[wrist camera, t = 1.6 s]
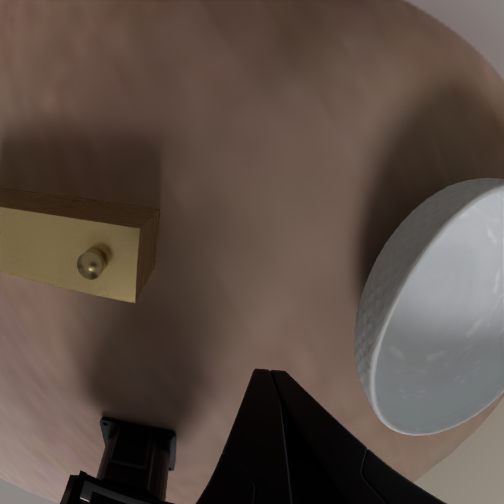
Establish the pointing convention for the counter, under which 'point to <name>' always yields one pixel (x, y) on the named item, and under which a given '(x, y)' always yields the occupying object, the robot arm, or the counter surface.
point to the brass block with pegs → (78, 243)
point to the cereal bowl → (436, 312)
